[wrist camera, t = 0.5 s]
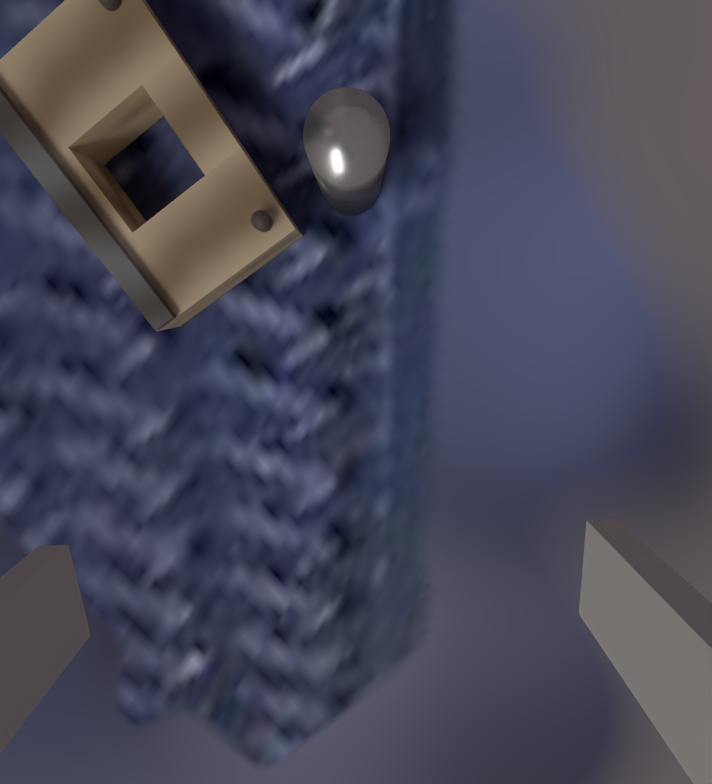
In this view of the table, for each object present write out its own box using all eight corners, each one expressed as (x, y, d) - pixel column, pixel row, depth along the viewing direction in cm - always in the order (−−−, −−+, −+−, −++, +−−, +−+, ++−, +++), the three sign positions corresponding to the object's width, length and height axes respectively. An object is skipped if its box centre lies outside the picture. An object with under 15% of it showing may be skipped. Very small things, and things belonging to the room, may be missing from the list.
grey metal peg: (308, 174, 31) (285, 124, 21) (358, 137, 31) (358, 67, 21) (342, 227, 32) (335, 202, 22) (392, 192, 31) (407, 149, 22)
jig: (18, 114, 30) (-48, 81, 25) (146, 1, 29) (103, -57, 24) (180, 326, 34) (150, 332, 29) (303, 236, 32) (293, 226, 27)
